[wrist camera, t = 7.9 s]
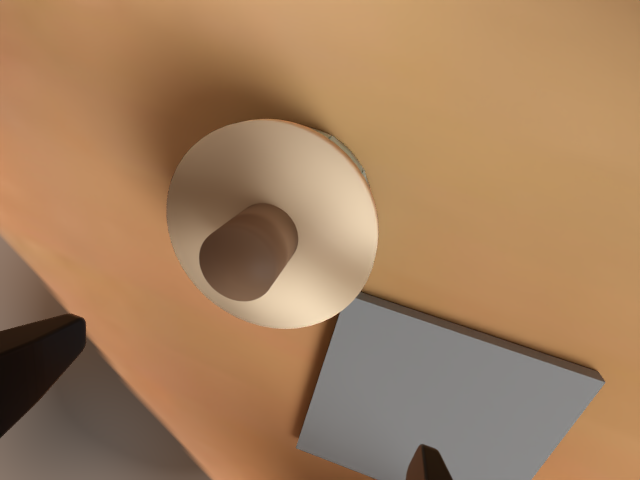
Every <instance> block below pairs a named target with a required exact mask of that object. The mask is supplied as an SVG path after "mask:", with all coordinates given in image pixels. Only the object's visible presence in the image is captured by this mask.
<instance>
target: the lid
mask: <svg viewBox="0 0 640 480" xmlns="http://www.w3.org/2000/svg"><path fill="white" fill-rule="evenodd" d="M167 224H168V231H169V235H170V239H171V243H172V246H173V248H174V251H175V254H176V256H177V258H178V260H179V262H180V264H181V266H182V268H183V269H184V271H185V272H186V274H187V275H188V277H189V278H190V279H191V281H192V282H193V283H194V284H195V286H196V287H197V288H198V289H199V290H200V291H201V292H202V293H203V294H204V295H205V296H206V297H207V298H208V299H209V300H211V301H212V302H213V303H214V304H216V305H217V306H218V307H220V308H221V309H223V310H224V311H226V312H228V313H230V314H231V315H233V316H235V317H237V318H239V319H242V320H244V321H247V322H249V323H253V324H256V325H260V326H264V327H270V328H281V329H291V328H301V327H306V326H311V325H314V324H317V323H320V322H323V321H325V320H327V319H329V318H331V317H333V316H335V315H336V314H338V313H339V312H341V311H342V310H344V309H345V308H346V307H347V306H348V305H349V304H350V303H351V302H352V301H353V300H354V299H355V298H356V297H357V295H358V294H359V293H360V292H361V290H362V288H363V287H364V285H365V283H366V282H367V280H368V277H369V275H370V273H371V270H372V267H373V263H374V259H375V255H376V250H377V245H378V235H379V226H378V215H377V210H376V204H375V201H374V198H373V195H372V192H371V190H370V188H369V186H368V184H367V181H366V179H365V177H364V176H363V174H362V173H361V171H360V170H359V168H358V167H357V165H356V164H355V163H354V162H353V160H352V159H351V158H350V157H349V156H348V155H347V153H345V152H344V151H343V150H342V149H341V148H340V147H339V146H338V145H337V144H335V143H334V142H333V141H331V140H330V139H328V138H327V137H325V136H324V135H323V134H321V133H319V132H317V131H315V130H313V129H311V128H309V127H306V126H303V125H300V124H298V123H295V122H290V121H285V120H280V119H256V120H248V121H244V122H239V123H235V124H231V125H227V126H224V127H222V128H220V129H217V130H215V131H213V132H211V133H210V134H208V135H206V136H205V137H203V138H202V139H201V140H199V141H198V142H197V143H196V144H195V145H193V146H192V147H191V149H190V150H189V151H188V152H187V153H186V154H185V155H184V157H183V158H182V160H181V162H180V163H179V165H178V166H177V168H176V170H175V173H174V175H173V177H172V180H171V184H170V187H169V191H168V198H167Z"/></svg>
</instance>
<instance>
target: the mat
mask: <svg viewBox="0 0 640 480" xmlns="http://www.w3.org/2000/svg"><path fill="white" fill-rule="evenodd" d="M604 384H605V381H604V379H603V378H602V376H601V375H600V373H599V372H598V371H595V370H592V369H589V368H586V367H583V366H580V365H577V364H574V363H571V362H568V361H565V360H562V359H559V358H556V357H553V356H550V355H547V354H544V353H541V352H538V351H535V350H532V349H529V348H526V347H523V346H520V345H517V344H514V343H511V342H508V341H505V340H502V339H499V338H496V337H493V336H490V335H487V334H484V333H481V332H478V331H475V330H472V329H469V328H466V327H463V326H460V325H457V324H454V323H451V322H449V321H446V320H443V319H440V318H437V317H434V316H431V315H428V314H425V313H422V312H419V311H416V310H413V309H410V308H407V307H404V306H401V305H398V304H395V303H392V302H389V301H386V300H383V299H380V298H377V297H374V296H371V295H368V294H365V293H362V292H360V293H359V294H358V295H357V297H356V298H355V299H354V300H353V301H352V302H351V303H350V304H349V305H348V306H347V307H346V308H345V309H344V310H342V311H341V312H340V314H339V317H338V320H337V323H336V326H335V329H334V332H333V336H332V339H331V342H330V345H329V348H328V351H327V354H326V357H325V360H324V363H323V366H322V369H321V372H320V375H319V378H318V381H317V384H316V388H315V391H314V394H313V397H312V400H311V403H310V406H309V409H308V412H307V415H306V418H305V421H304V424H303V427H302V430H301V433H300V436H299V440H298V443H297V446H296V448H297V449H299V450H302V451H305V452H307V453H310V454H312V455H315V456H318V457H320V458H323V459H325V460H328V461H330V462H333V463H336V464H338V465H341V466H343V467H346V468H349V469H351V470H354V471H356V472H359V473H361V474H364V475H367V476H369V477H372V478H374V479H377V480H406V474H407V469H408V466H409V464H410V462H411V460H412V458H413V456H414V454H415V452H416V450H417V448H418V446H419V445H420V444H425V445H428V446H430V447H433V448H436V449H437V450H438V451H439V452H440V454H441V456H442V458H443V460H444V462H445V464H446V466H447V468H448V470H449V472H450V474H451V476H452V478H453V480H531V479H532V478H533V477H534V475H535V474H536V473H537V472H538V470H539V469H540V468H541V466H542V465H543V464H544V462H545V461H546V460H547V458H548V457H549V456H550V454H551V453H552V452H553V451H554V449H555V448H556V447H557V445H558V444H559V443H560V441H561V440H562V439H563V437H564V436H565V435H566V434H567V432H568V431H569V430H570V428H571V427H572V426H573V424H574V423H575V422H576V420H577V419H578V418H579V416H580V415H581V414H582V413H583V411H584V410H585V409H586V407H587V406H588V405H589V403H590V402H591V401H592V399H593V398H594V397H595V395H596V394H597V393H598V392H599V390H600V389H601V388H602V386H603V385H604Z"/></svg>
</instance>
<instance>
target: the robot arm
mask: <svg viewBox="0 0 640 480" xmlns="http://www.w3.org/2000/svg"><path fill="white" fill-rule="evenodd" d="M85 344H86V322H85V320H84V318H82V317H79V316H76V315H74V314H64V315H60V316H56V317H53V318H49V319H45V320H42V321H37V322H34V323H30V324H26V325H22V326H18V327H15V328H11V329H7V330H3V331H0V438H1V437H2V436H3V435H4V434H5V433H6V432H7V431H8V430H9V429H10V428H11V427H12V426H13V425H14V424H15V423H16V422H17V421H19V420H20V419H21V417H23V416H24V415H25V414H26V413H27V412H28V411H29V410H30V409H31V408H32V407H33V406H34V405H35V404H36V403H37V402H38V401H39V400H40V399H41V398H42V397H43V395H44V394H45V393H46V392H47V391H48V390H49V389H50V387H51V386H52V385H53V384H54V383H55V382H56V381H57V380H58V379H59V377H60V376H61V375H62V374H63V372H65V370H66V369H67V368H68V367H69V366H70V365H71V364H72V362H73V361H74V360H75V359H76V358H77V356H78V355H79V354H80V353H81V352H82V351H83V349H84V347H85ZM406 480H453V478H452V476H451V474H450V472H449V470H448V468H447V466H446V464H445V462H444V460H443V458H442V456H441V454H440V452H439V451H438V450H437V449H436V448H433V447H430V446H428V445H425V444H420V445H419V446H418V448H417V450H416V452H415V454H414V456H413V458H412V460H411V462H410V464H409V466H408V469H407V474H406Z"/></svg>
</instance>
